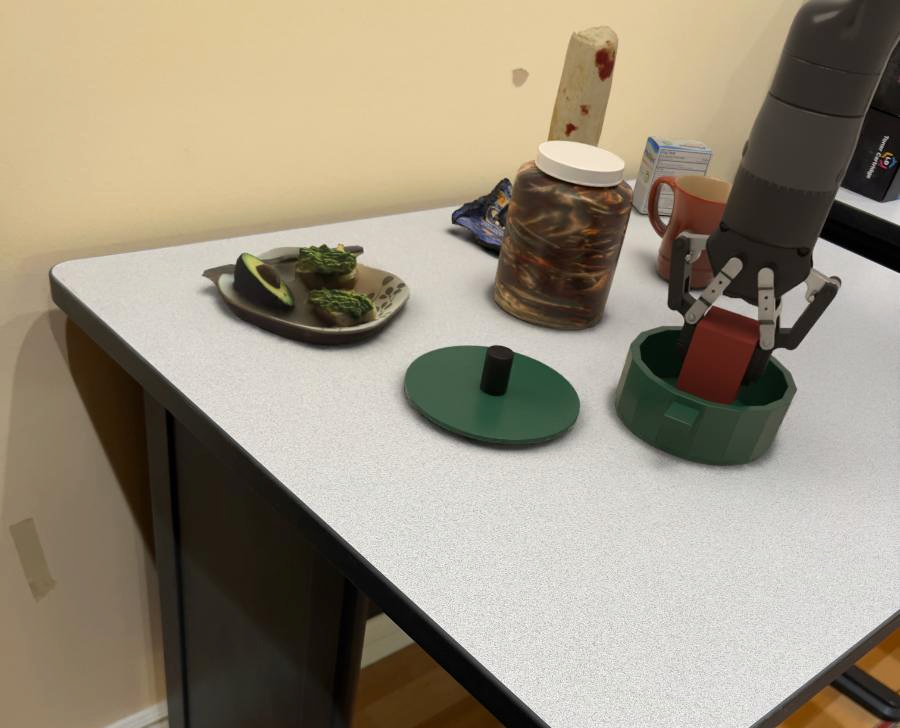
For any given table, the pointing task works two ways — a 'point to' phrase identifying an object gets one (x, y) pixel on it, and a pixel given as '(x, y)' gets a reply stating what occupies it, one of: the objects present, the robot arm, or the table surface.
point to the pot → (698, 406)
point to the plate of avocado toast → (310, 293)
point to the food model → (584, 86)
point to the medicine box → (668, 168)
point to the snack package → (486, 215)
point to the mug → (688, 218)
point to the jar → (563, 235)
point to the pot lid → (492, 394)
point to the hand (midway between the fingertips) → (715, 371)
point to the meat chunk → (719, 356)
